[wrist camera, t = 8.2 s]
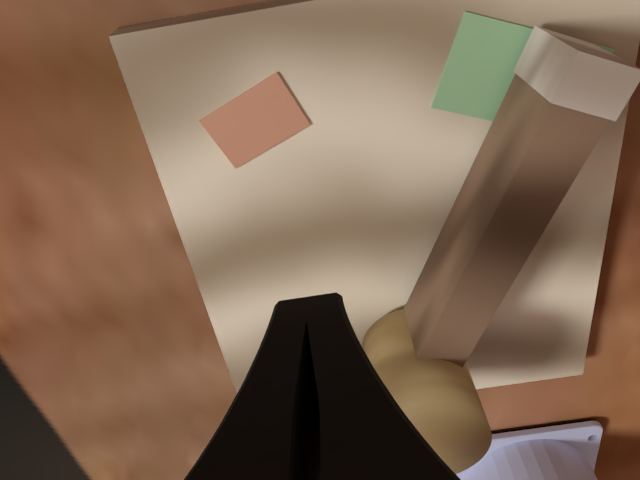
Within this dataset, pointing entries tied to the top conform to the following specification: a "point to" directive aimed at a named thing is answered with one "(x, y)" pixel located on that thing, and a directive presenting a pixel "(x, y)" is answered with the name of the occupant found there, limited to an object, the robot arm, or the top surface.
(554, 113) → the friction peg
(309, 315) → the robot arm
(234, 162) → the thin salmon tile
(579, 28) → the board
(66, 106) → the top surface
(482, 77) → the green tile
